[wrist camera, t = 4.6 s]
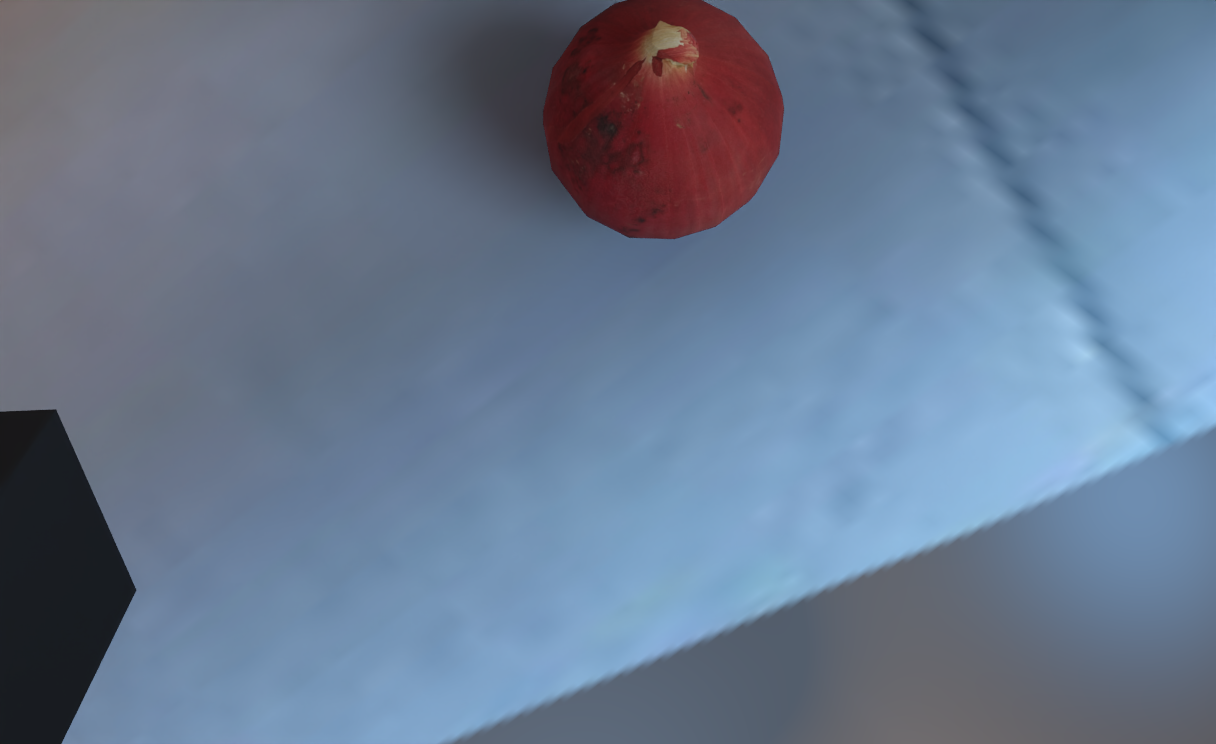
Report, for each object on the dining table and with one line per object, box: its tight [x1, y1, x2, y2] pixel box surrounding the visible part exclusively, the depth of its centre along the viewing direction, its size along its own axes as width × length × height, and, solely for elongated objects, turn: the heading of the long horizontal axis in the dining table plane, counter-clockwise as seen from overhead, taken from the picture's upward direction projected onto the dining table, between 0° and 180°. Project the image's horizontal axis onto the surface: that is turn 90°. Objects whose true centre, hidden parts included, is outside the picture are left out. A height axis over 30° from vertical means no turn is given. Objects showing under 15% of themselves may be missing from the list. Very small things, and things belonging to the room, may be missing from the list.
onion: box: [543, 0, 784, 239], centre depth 27 cm, size 6×6×8 cm
